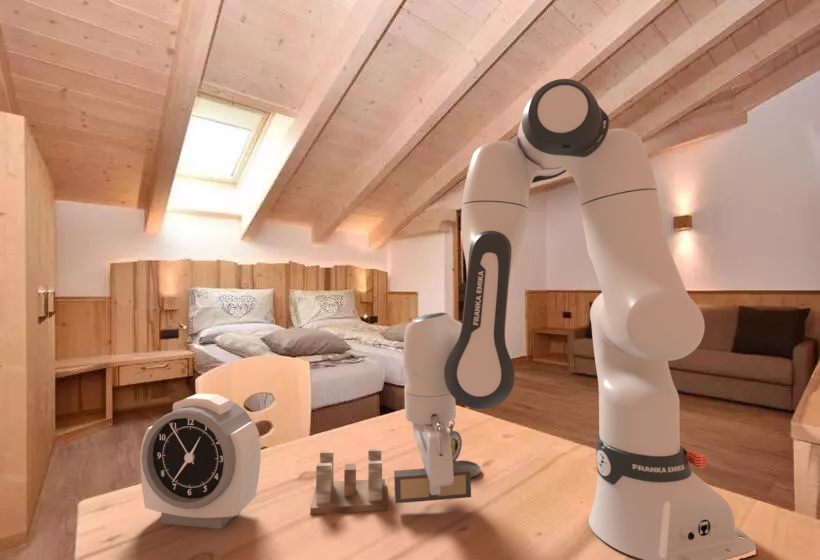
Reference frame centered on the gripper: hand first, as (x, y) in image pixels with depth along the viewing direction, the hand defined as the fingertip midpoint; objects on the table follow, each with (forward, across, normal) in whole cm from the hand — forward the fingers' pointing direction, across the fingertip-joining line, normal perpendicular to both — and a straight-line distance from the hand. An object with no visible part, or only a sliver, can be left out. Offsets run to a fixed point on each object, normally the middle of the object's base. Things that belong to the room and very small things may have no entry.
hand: (432, 487), depth 69 cm
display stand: (+3, +5, +14) cm, 16 cm away
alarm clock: (+3, +2, +39) cm, 39 cm away
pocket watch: (+4, +14, -8) cm, 17 cm away
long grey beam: (+2, 0, 0) cm, 2 cm away
